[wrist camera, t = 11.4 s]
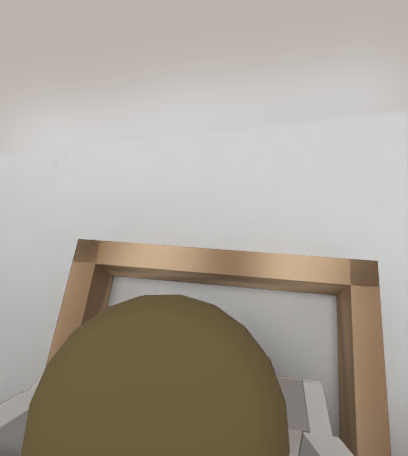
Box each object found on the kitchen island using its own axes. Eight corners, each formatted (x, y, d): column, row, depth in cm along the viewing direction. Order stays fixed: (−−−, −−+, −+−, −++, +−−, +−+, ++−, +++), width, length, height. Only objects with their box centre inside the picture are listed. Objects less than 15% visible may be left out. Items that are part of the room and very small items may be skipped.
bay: (38, 511, 16) (2, 537, 13) (97, 253, 20) (78, 239, 18) (375, 577, 13) (402, 622, 11) (360, 274, 18) (377, 261, 15)
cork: (155, 314, 17) (28, 240, 7) (278, 332, 16) (336, 278, 6) (127, 453, 15) (-115, 636, 5) (266, 484, 14) (325, 790, 4)
